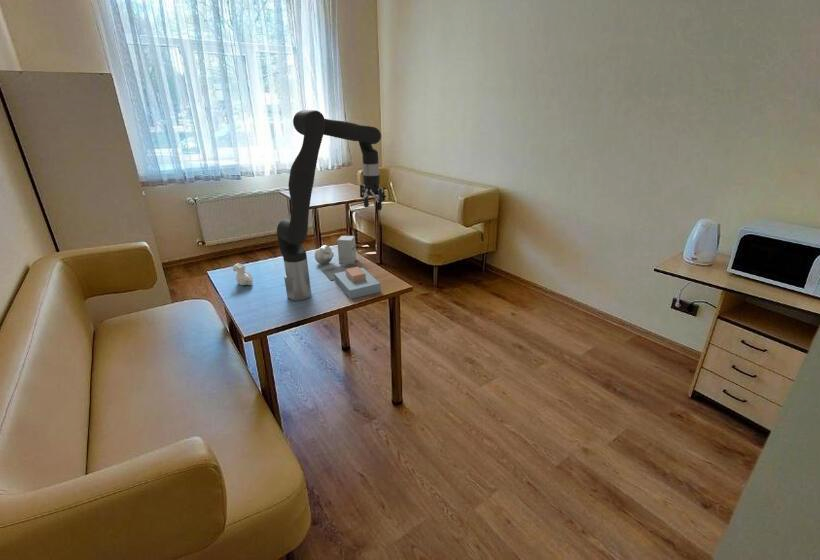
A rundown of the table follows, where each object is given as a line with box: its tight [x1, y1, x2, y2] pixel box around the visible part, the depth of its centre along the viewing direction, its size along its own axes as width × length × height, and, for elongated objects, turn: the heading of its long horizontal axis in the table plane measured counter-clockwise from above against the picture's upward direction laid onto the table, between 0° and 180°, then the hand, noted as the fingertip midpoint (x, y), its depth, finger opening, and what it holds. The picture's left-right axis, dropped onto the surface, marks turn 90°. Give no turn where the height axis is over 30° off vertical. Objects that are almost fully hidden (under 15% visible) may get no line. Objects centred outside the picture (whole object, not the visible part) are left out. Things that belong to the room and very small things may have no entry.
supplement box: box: [336, 235, 357, 265], centre depth 209 cm, size 7×7×13 cm
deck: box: [334, 267, 381, 300], centre depth 183 cm, size 20×14×4 cm
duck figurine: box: [232, 262, 253, 286], centre depth 186 cm, size 12×8×11 cm
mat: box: [321, 262, 359, 282], centre depth 198 cm, size 14×17×1 cm
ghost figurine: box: [314, 244, 335, 266], centre depth 206 cm, size 9×9×10 cm
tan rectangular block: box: [345, 266, 366, 283], centre depth 182 cm, size 9×6×3 cm, turn 28°
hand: (372, 208), depth 193 cm, fingers open, 8 cm apart
